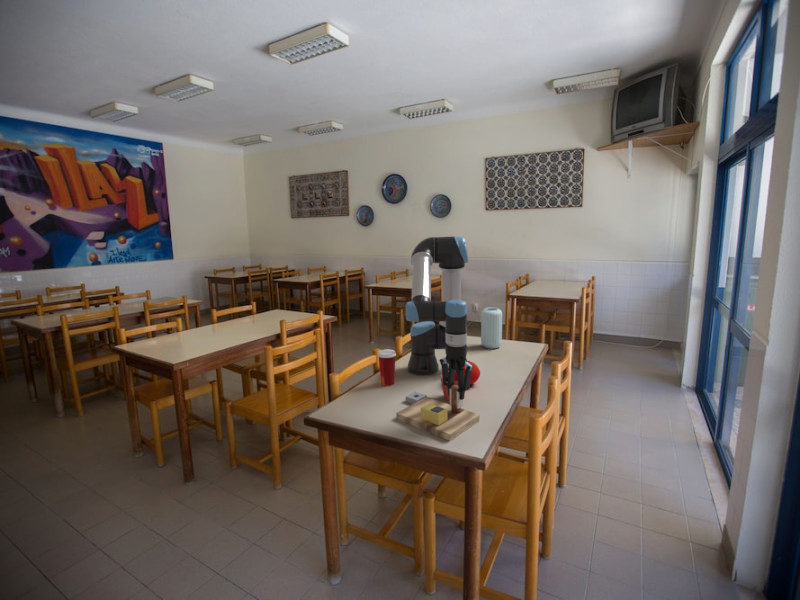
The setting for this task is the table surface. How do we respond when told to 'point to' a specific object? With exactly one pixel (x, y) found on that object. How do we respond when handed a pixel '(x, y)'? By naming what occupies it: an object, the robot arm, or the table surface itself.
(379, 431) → the table surface
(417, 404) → the subfloor panel
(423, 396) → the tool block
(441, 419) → the block
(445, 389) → the flower pot
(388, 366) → the coffee cup
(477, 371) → the tomato
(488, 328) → the vase
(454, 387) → the brown rounded cylinder
